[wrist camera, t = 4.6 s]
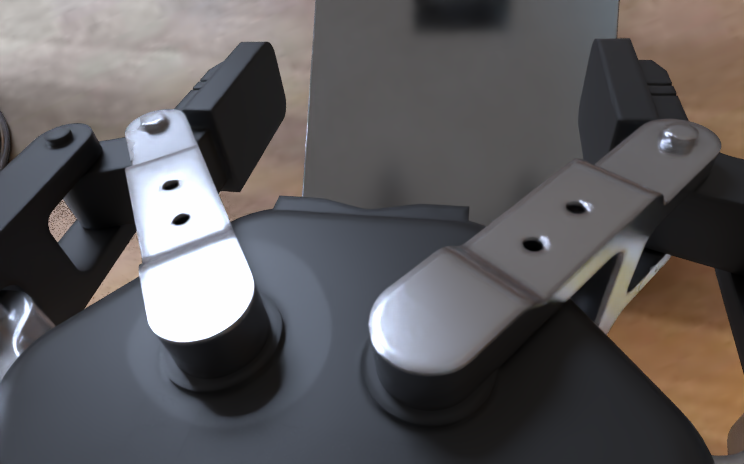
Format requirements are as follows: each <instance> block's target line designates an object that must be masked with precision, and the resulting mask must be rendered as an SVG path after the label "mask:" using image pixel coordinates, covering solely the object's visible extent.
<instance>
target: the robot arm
mask: <svg viewBox="0 0 744 464" xmlns="http://www.w3.org/2000/svg"><path fill="white" fill-rule="evenodd" d="M285 113H286V98H285V93H284V89H283V85H282V80H281V76H280V72H279V68H278V64H277V60H276V56H275V52H274V49H273V47H272V45H271V44H270V43H269V42H241V43H240V44H239V45H238V46H237V47H236V48H235V49H234V50H233V51H232V53H231V54H230V55H229V56H228V57H227V58H226V59H225V61H223V62H221V63H220V64H218V65H216V66H215V67H213V68H211V69H210V70H209V71H208V72H207V73H206V74H205V75H204V76H203V77H202V78H201V80H200V82H198V83H197V84H196V85H195V86H194V87H193V90H191V91H190V92H189V93H188V94H187V95H186V96H185V97H184V99H183V100H182V101H181V102H180V103H179V104H178V105H177V106H176V107H175V109H163V110H157V111H153V112H150V113H147V114H145V115H142V116H140V117H139V118H137V119H135V120H134V121H133V122H131V123H130V124H129V125H128V127H127V128H126V131H125V136H126V137H124V138H118V139H112V140H106V141H100V142H99V141H98V139H97V138H96V136H95V134H94V132H93V130H92V129H91V127H90V126H88V125H86V124H82V123H74V124H67V125H62V126H59V127H56V128H54V129H51V130H49V131H47V132H45V133H43V134H41V135H40V136H39V137H37V138H36V139H35V140H34V141H33V142H31V143H30V144H29V145H28V146H27V147H26V148H25V149H24V150H23V151H22V152H21V153H20V154H19V155H18V156H16V157H15V158H14V159H13V160H12V161H11V162H10V163H9V164H8V165H7V163H8V159H9V153H10V136H9V130H8V126H7V123H6V120H5V118H4V116H3V114H2V112H1V111H0V464H744V413H743V415H742V416H741V417H740V418H739V419H738V420H737V421H736V422H735V424H734V425H733V426H732V427H731V429H730V431H729V433H728V439H727V448H728V455H727V456H714V455H711V453H710V451H709V450H708V448H707V446H706V444H705V442H704V440H703V439H702V437H701V435H700V434H699V432H698V431H697V430H696V428H695V427H694V426H693V424H692V423H691V422H690V421H689V419H688V418H687V417H686V416H685V415H684V414H683V413H682V412H681V410H680V409H679V408H678V407H677V406H676V405H675V404H674V403H673V402H672V401H671V400H670V399H669V398H668V397H667V396H666V395H665V394H664V393H663V392H662V391H661V390H660V389H659V388H658V387H657V386H656V385H655V384H654V383H653V382H652V381H651V380H650V379H649V378H648V377H647V376H646V375H645V374H644V373H643V372H642V371H641V370H640V369H639V368H638V367H637V366H636V365H635V364H634V363H633V362H632V361H631V360H630V359H629V357H628V356H627V355H626V354H625V353H624V352H623V351H622V350H621V349H620V348H619V347H618V346H617V345H616V344H615V343H614V342H613V341H612V340H611V339H610V338H609V337H608V336H607V333H608V332H609V330H610V329H611V327H612V326H613V324H614V322H615V321H616V319H617V317H618V316H619V314H620V313H621V311H622V310H623V309H624V308H625V306H626V305H627V304H628V303H629V302H630V301H631V300H632V299H633V298H634V297H635V296H636V294H637V293H638V292H639V291H640V290H641V289H642V288H643V287H644V286H645V285H646V284H647V283H648V282H649V280H650V279H651V278H652V277H653V276H654V275H655V274H656V273H657V272H658V271H659V270H660V269H661V268H662V266H663V265H664V264H665V263H666V262H667V261H668V260H669V259H670V257H671V256H675V257H679V258H682V259H686V260H689V261H692V262H696V263H699V264H703V265H706V266H710V267H713V268H715V272H716V276H717V280H718V283H719V287H720V290H721V294H722V298H723V301H724V305H725V308H726V312H727V316H728V319H729V323H730V326H731V330H732V334H733V337H734V341H735V344H736V348H737V351H738V355H739V359H740V362H741V366H742V369H743V373H744V159H740V158H735V157H731V156H728V155H725V154H722V153H720V149H721V142H720V139H719V138H718V136H717V135H716V134H715V133H713V132H712V131H711V130H709V129H708V128H706V127H704V126H702V125H699V124H696V123H693V122H690V121H688V118H687V116H686V114H685V111H684V109H683V107H682V105H681V102H680V100H679V98H678V96H676V91H675V89H674V87H673V86H672V82H671V80H670V78H669V75H668V73H667V71H666V70H665V69H663V68H662V67H661V66H659V65H658V64H656V63H655V62H654V61H652V60H638V58H637V56H636V53H635V50H634V47H633V45H632V42H631V40H630V39H629V38H615V39H595V40H594V41H593V44H592V47H591V51H590V56H589V60H588V65H587V70H586V75H585V79H584V84H583V89H582V94H581V98H580V104H579V112H578V128H579V134H580V140H581V147H582V153H583V159H584V160H583V159H581V158H575V159H573V160H572V161H570V162H569V163H567V164H566V165H565V166H564V167H562V168H561V169H560V170H558V171H557V172H556V173H555V174H553V175H552V176H551V177H549V178H548V179H547V180H546V181H544V182H543V183H542V184H540V185H539V186H538V187H537V188H535V189H534V190H533V191H531V192H530V193H529V194H528V195H526V196H525V197H524V198H522V199H521V200H520V201H519V202H517V203H516V204H515V205H513V206H512V207H511V208H510V209H508V210H507V211H506V212H504V213H503V214H502V215H501V216H499V217H498V218H497V219H496V220H494V221H493V222H492V223H490V224H489V225H488V226H484V225H481V224H479V223H476V222H472V221H469V206H452V205H435V204H413V205H404V206H395V207H387V208H378V209H364V208H360V207H356V206H352V205H348V204H344V203H340V202H336V201H333V200H329V199H325V198H312V197H294V196H279V198H278V200H277V202H276V204H275V206H274V208H273V209H268V210H263V211H259V212H255V213H252V214H248V215H246V216H243V217H240V218H238V219H236V220H234V221H232V222H230V221H229V219H228V216H227V214H226V211H225V209H224V207H223V204H222V202H221V199H220V197H219V195H218V194H219V192H220V191H228V192H241V190H242V188H243V187H244V185H245V183H246V182H247V180H248V178H249V176H250V175H251V173H252V171H253V170H254V168H255V166H256V165H257V163H258V161H259V160H260V158H261V156H262V155H263V153H264V151H265V149H266V148H267V146H268V144H269V143H270V141H271V139H272V138H273V136H274V134H275V133H276V131H277V129H278V128H279V126H280V124H281V122H282V121H283V119H284V117H285ZM62 199H63V200H64V201H65V202H66V204H67V205H68V207H69V208H70V210H71V211H72V213H73V214H74V215H75V217H76V218H77V220H76V221H75V222H74V223H73V225H72V226H71V227H70V228H69V229H68V231H67V232H66V233H65V234H64V236H63V237H62V238H61V239H60V241H59V242H57V241H56V240H55V239H54V237H53V236H52V234H51V233H50V231H49V227H48V220H49V216H50V214H51V212H52V211H53V210H54V208H55V207H56V206H57V205H58V204H59V203H60V202H61V200H62ZM136 231H137V235H138V240H139V245H140V250H141V255H142V264H140V265H139V277H137V278H136V279H134V280H132V281H131V282H129V283H127V284H126V285H124V286H122V287H121V288H119V289H117V290H116V291H114V292H112V293H111V294H109V295H107V296H106V297H104V298H102V299H101V300H99V301H97V302H96V303H94V304H92V305H91V306H89V307H87V308H86V309H84V308H85V307H86V305H87V304H88V302H89V301H90V299H91V298H92V296H93V295H94V294H95V292H96V291H97V289H98V288H99V286H100V285H101V283H102V282H103V280H104V279H105V277H106V276H107V274H108V273H109V271H110V270H111V268H112V267H113V265H114V264H115V262H116V261H117V259H118V258H119V256H120V255H121V253H122V252H123V250H124V249H125V247H126V246H127V244H128V243H129V241H130V240H131V238H132V237H133V235H134V234H135V232H136Z"/></svg>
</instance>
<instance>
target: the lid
mask: <svg viewBox="0 0 744 464" xmlns="http://www.w3.org/2000/svg"><path fill="white" fill-rule="evenodd" d="M619 2H620V0H316V2H315V16H314V31H313V46H312V60H311V75H310V90H309V104H308V119H307V134H306V149H305V163H304V178H303V193H302V197H312V198H325V199H329V200H333V201H336V202H340V203H344V204H348V205H352V206H356V207H360V208H364V209H378V208H387V207H395V206H404V205H413V204H435V205H452V206H469V221H472V222H476V223H479V224H481V225H484V226H488V225H489V224H490V223H492V222H493V221H494V220H496V219H497V218H498V217H499V216H501V215H502V214H503V213H504V212H506V211H507V210H508V209H510V208H511V207H512V206H513V205H515V204H516V203H517V202H519V201H520V200H521V199H522V198H524V197H525V196H526V195H528V194H529V193H530V192H531V191H533V190H534V189H535V188H537V187H538V186H539V185H540V184H542V183H543V182H544V181H546V180H547V179H548V178H549V177H551V176H552V175H553V174H555V173H556V172H557V171H558V170H560V169H561V168H562V167H564V166H565V165H566V164H567V163H569V162H570V161H572V160H573V159H575V158H581V159H583V153H582V147H581V140H580V134H579V128H578V112H579V104H580V98H581V94H582V89H583V84H584V79H585V75H586V70H587V65H588V60H589V56H590V51H591V47H592V44H593V41H594V40H595V39H615V38H617V31H618V16H619ZM583 160H584V159H583Z"/></svg>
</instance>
